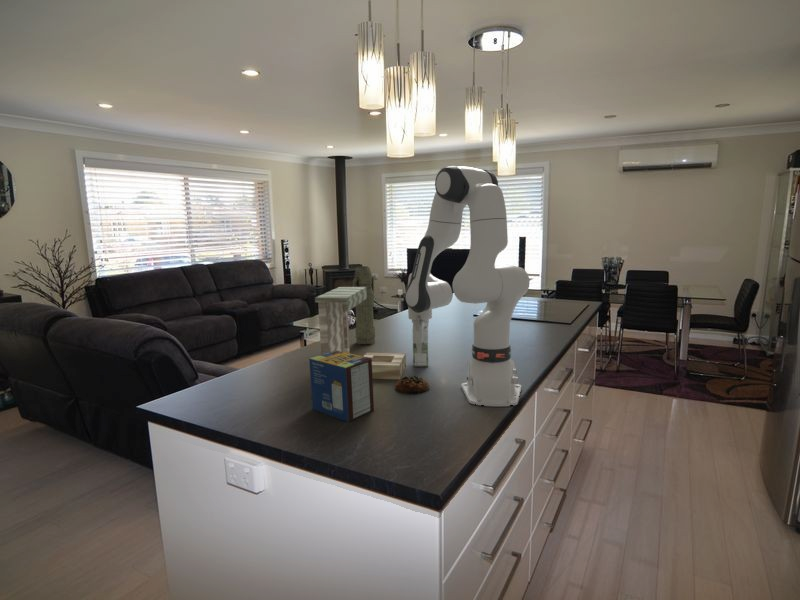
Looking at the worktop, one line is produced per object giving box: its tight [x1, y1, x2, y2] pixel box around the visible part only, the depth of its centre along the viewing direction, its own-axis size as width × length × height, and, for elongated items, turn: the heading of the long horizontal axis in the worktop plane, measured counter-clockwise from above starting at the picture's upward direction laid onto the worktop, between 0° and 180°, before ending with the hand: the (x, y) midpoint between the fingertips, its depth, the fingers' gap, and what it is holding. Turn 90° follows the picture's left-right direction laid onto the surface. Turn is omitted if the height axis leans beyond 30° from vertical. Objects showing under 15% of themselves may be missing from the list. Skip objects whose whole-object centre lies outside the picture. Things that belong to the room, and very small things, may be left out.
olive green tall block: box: [352, 265, 376, 345], centre depth 203 cm, size 9×12×35 cm
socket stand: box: [314, 286, 407, 380], centre depth 161 cm, size 28×26×30 cm
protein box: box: [308, 350, 375, 423], centre depth 128 cm, size 10×15×16 cm
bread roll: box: [394, 375, 431, 395], centre depth 145 cm, size 11×11×5 cm
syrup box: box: [412, 325, 430, 367], centre depth 169 cm, size 6×6×14 cm
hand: (420, 349), depth 170 cm, fingers open, 8 cm apart
